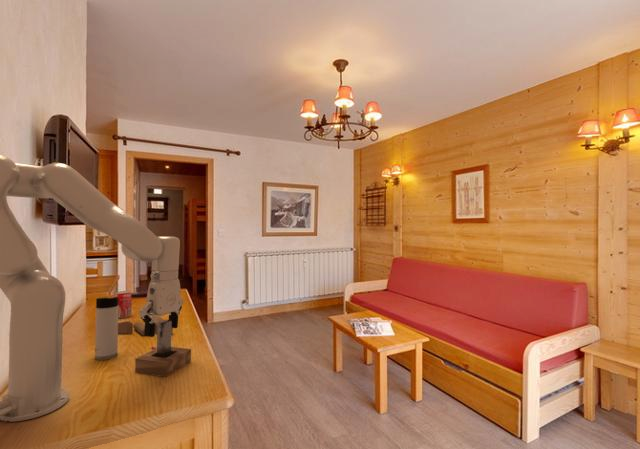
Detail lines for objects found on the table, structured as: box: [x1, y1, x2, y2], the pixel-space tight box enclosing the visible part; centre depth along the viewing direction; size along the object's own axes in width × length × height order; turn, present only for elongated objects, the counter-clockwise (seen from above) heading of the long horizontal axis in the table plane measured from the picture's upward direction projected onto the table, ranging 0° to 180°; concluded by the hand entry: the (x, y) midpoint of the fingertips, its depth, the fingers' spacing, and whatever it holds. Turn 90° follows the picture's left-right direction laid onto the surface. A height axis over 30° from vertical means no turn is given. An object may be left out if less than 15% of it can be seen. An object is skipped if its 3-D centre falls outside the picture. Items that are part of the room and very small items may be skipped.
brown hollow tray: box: [134, 346, 192, 378], centre depth 99 cm, size 11×11×4 cm
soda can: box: [114, 290, 133, 320], centre depth 153 cm, size 7×7×12 cm
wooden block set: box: [118, 315, 174, 337], centre depth 128 cm, size 17×6×18 cm
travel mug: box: [94, 296, 119, 361], centre depth 106 cm, size 6×7×20 cm
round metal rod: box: [156, 319, 173, 358], centre depth 99 cm, size 4×4×14 cm
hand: (161, 331), depth 98 cm, fingers open, 9 cm apart
